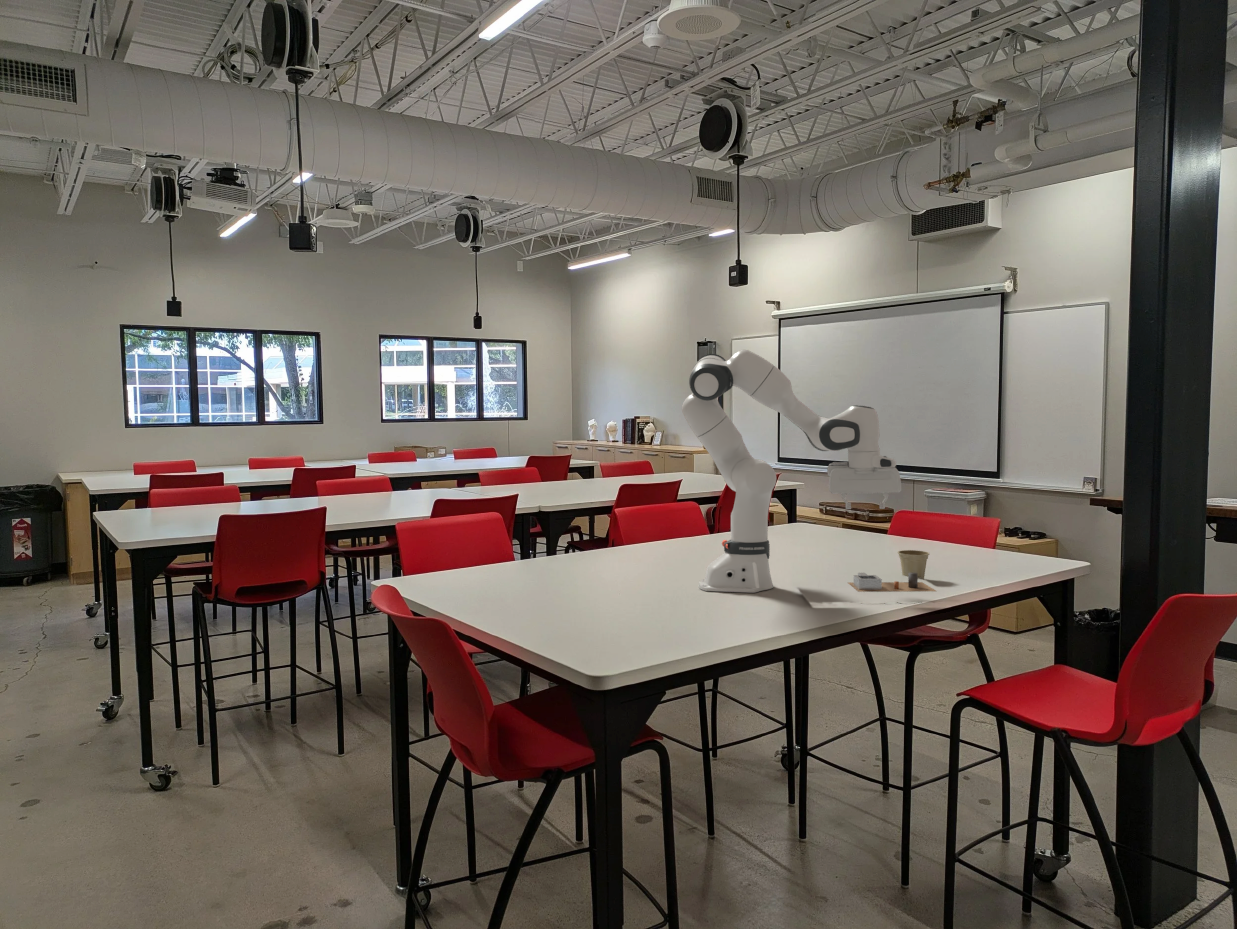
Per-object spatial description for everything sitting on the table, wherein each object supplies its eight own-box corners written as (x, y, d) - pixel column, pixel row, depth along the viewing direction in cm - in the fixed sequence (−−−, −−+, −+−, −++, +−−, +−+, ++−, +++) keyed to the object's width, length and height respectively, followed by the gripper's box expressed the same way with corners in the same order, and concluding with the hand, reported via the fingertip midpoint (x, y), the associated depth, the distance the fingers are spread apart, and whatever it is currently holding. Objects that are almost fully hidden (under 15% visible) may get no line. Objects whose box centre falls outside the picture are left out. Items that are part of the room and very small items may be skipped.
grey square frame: (881, 589, 232) (881, 579, 232) (858, 589, 232) (858, 579, 232) (872, 582, 242) (872, 572, 242) (850, 582, 243) (850, 572, 243)
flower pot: (932, 583, 248) (932, 555, 248) (900, 582, 250) (900, 554, 249) (925, 577, 257) (926, 550, 257) (895, 576, 259) (895, 549, 258)
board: (858, 596, 230) (858, 577, 230) (847, 587, 243) (847, 568, 243) (936, 596, 229) (937, 576, 229) (922, 587, 242) (922, 568, 242)
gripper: (826, 462, 235) (827, 510, 236) (901, 461, 229) (902, 509, 230) (827, 461, 241) (828, 507, 242) (900, 459, 235) (901, 507, 236)
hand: (865, 508), depth 236 cm, fingers open, 8 cm apart
